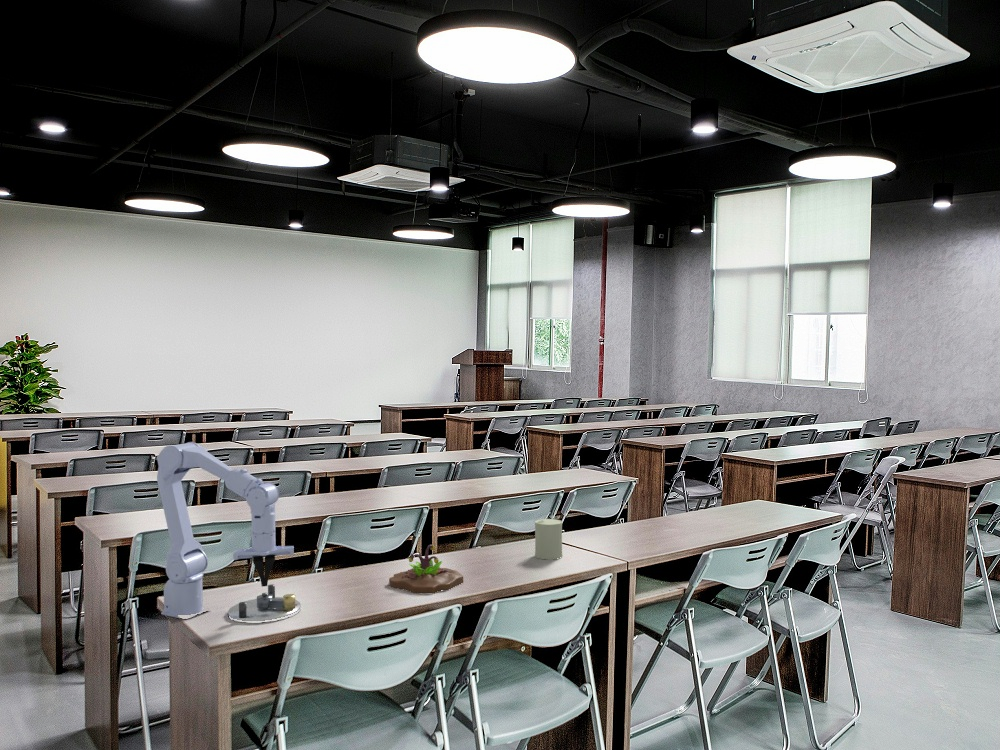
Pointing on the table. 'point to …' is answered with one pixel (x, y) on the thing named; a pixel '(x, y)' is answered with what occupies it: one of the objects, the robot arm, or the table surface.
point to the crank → (276, 602)
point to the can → (548, 539)
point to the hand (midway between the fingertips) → (264, 585)
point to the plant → (426, 576)
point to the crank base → (252, 613)
